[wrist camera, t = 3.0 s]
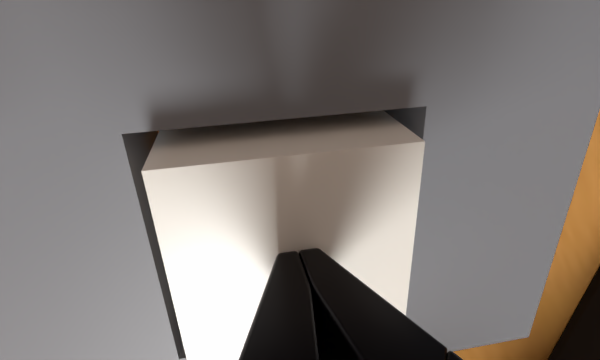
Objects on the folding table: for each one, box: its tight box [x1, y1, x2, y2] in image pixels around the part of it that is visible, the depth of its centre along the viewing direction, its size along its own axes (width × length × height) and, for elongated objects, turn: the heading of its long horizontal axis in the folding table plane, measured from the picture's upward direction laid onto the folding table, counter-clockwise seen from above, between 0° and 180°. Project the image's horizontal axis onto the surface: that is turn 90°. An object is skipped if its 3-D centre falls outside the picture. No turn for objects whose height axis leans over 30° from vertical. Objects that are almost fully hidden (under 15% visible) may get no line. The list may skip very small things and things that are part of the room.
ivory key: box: [141, 110, 425, 360], centre depth 9 cm, size 5×5×2 cm
